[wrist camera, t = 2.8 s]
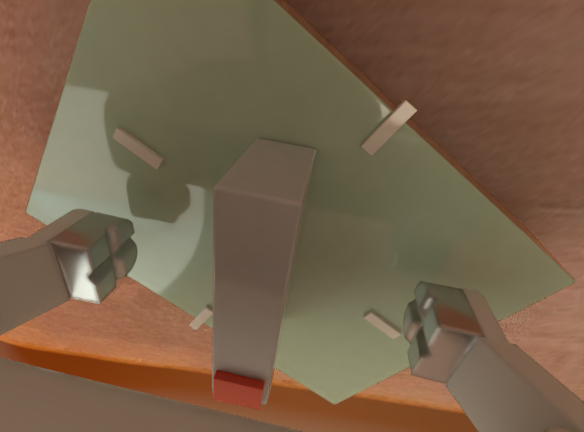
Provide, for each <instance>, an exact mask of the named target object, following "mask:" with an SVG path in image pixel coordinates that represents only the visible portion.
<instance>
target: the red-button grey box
mask: <svg viewBox="0 0 584 432" xmlns="http://www.w3.org/2000/svg"><path fill="white" fill-rule="evenodd" d="M316 154H317V152H316V150H315V149H313V148H308V147H303V146H297V145H292V144H287V143H281V142H276V141H270V140H265V139H260V138H257V139H255V140H254V141H253V142H252V144H251V145H250V146H249V147H248V148H247V149H246V150H245V152H244V153H243V154H242V155H241V156H240V157H239V158H238V159H237V161H236V162H235V163H234V164H233V165H232V166H231V167H230V169H229V170H228V171H227V172H226V173H225V174H224V175H223V176H222V178H221V179H220V180H219V181H218V182H217V183H216V184H215V186H214V188H213V314H212V391H213V399H215V400H220V401H224V402H228V403H232V404H236V405H240V406H244V407H248V408H252V409H257V410H260V407H261V404H266V403H267V402H268V397H269V392H270V388H271V383H272V379H273V374H274V370H275V365H276V361H277V356H278V351H279V347H280V342H281V338H282V333H283V329H284V324H285V319H286V314H287V308H288V303H289V298H290V292H291V287H292V282H293V276H294V271H295V266H296V260H297V255H298V250H299V244H300V239H301V234H302V228H303V223H304V218H305V212H306V207H307V202H308V196H309V191H310V186H311V180H312V175H313V170H314V164H315V159H316Z"/></svg>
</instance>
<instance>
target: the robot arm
mask: <svg viewBox="0 0 584 432" xmlns="http://www.w3.org/2000/svg"><path fill="white" fill-rule="evenodd" d="M134 233H135V231H134V226H133V222H131V221H130V220H129V219H125V218H120V217H116V216H112V215H107V214H103V213H99V212H94V211H89V210H85V209H73V210H71V211H70V212H68V213H67V214H65V215H63V216H62V217H60V218H59V219H57V220H55V221H54V222H52V223H51V224H49V225H47V226H46V227H44V228H42V229H41V230H39V231H38V232H36V233H34V234H33V235H31V236H30V237H28V238H23V237H20V238H16V239H12V240H8V241H4V242H0V335H2V334H4V333H6V332H7V331H9V330H11V329H13V328H15V327H17V326H19V325H21V324H23V323H25V322H27V321H29V320H31V319H33V318H35V317H37V316H39V315H41V314H43V313H45V312H47V311H49V310H50V309H52V308H54V307H56V306H58V305H60V304H62V303H64V302H66V301H68V300H69V298H72V299H77V300H82V301H87V302H92V303H97V304H101V303H102V301H103V300H104V299H105V298H106V297H107V296H108V295H109V294H110V293H111V292H112V291H113V290H114V289H115V288H116V280H118V279H120V278H122V277H125V276H127V275H128V273H129V272H130V271H131V270H132V269H133V267H134V264H135V262H136V260H137V253H138V251H137V245H136V244H135V242H134V241H133V240H132V239H131V237H132V235H133V234H134ZM414 294H415V298H416V299H415V300H413V301H411V302H409V303H408V305H407V307H406V310H405V312H404V318H403V332H404V337H405V339H406V340H407V341H408V342H409V343H410V344H411V345H410V347H409V349H408V351H407V354H408V359H409V364H410V369H411V375H413V376H417V377H421V378H425V379H429V380H433V381H437V382H441V383H444V384H446V385H445V386H446V387H447V388H448V390H449V391H450V393H451V394H452V395H453V397H454V398H455V400H456V401H457V402H458V404H459V405H460V407H461V408H462V409H463V411H464V412H465V414H466V415H467V416H468V418H469V419H470V421H471V422H472V423H473V424H474V426H475V427H476V429H477V430H478V432H584V402H583V401H582V400H581V399H580V398H579V397H577V396H576V395H575V394H574V393H573V392H571V391H570V390H569V389H568V388H567V387H565V386H564V385H563V384H562V383H561V382H560V381H558V380H557V379H556V378H555V377H554V376H552V375H551V374H550V373H549V372H548V371H546V370H545V369H544V368H543V367H542V366H541V365H539V364H538V363H537V362H536V361H535V360H533V359H532V358H531V357H530V356H529V355H527V354H526V353H525V352H524V351H523V350H522V349H520V348H519V347H518V346H517V345H516V344H511V343H509V342H508V340H507V338H506V337H505V335H504V333H503V331H502V329H501V327H500V325H499V323H498V321H497V320H496V318H495V316H494V314H493V312H492V310H491V308H490V306H489V304H488V303H487V301H486V299H485V297H484V295H483V294H482V293H480V292H479V291H474V290H469V289H463V288H455V287H450V286H445V285H440V284H435V283H430V282H425V281H420V282H419V283H418V284H417V286H416V288H415V290H414ZM0 432H303V431H299V430H294V429H290V428H286V427H282V426H278V425H274V424H270V423H266V422H262V421H258V420H254V419H249V418H245V417H241V416H237V415H233V414H228V413H225V412H221V411H217V410H212V409H208V408H204V407H200V406H196V405H192V404H188V403H183V402H180V401H176V400H172V399H167V398H163V397H159V396H155V395H151V394H147V393H143V392H139V391H134V390H130V389H126V388H122V387H118V386H114V385H110V384H106V383H102V382H97V381H94V380H89V379H85V378H81V377H77V376H73V375H69V374H65V373H61V372H57V371H53V370H49V369H45V368H41V367H37V366H32V365H28V364H24V363H20V362H16V361H12V360H8V359H4V358H0Z"/></svg>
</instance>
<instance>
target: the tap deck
mask: <svg viewBox="0 0 584 432" xmlns="http://www.w3.org/2000/svg"><path fill="white" fill-rule="evenodd" d="M416 111H417V110H416V108H414V107H413V106H412V105H411V104H410V103H409V102H408V101H407V100H406V99H404V100H403V102H402V103H401V104H400V105H399V106H397V105H396V104H395V103H394V102H393V101H392V100H391V99H390V98H388V97H387V96H386V95H385V94H384V93H383V92H382V91H381V90H380V89H379V88H378V87H377V86H376V85H375V84H374V83H372V82H371V81H370V80H369V79H368V78H367V77H366V76H365V75H364V74H363V73H362V72H361V71H360V70H359V69H358V68H356V67H355V66H354V65H353V64H352V63H351V62H350V61H349V60H348V59H347V58H346V57H345V56H344V55H343V54H342V53H340V52H339V51H338V50H337V49H336V48H335V47H334V46H333V45H332V44H331V43H330V42H329V41H328V40H327V39H326V38H324V37H323V36H322V35H321V34H320V33H319V32H318V31H317V30H316V29H315V28H314V27H313V26H312V25H311V24H310V23H308V22H307V21H306V20H305V19H304V18H303V17H302V16H301V15H300V14H299V13H298V12H297V11H296V10H295V9H294V8H292V7H291V6H290V5H289V4H288V3H287V2H286V1H285V0H90V3H89V6H88V10H87V13H86V16H85V19H84V23H83V26H82V29H81V32H80V36H79V39H78V42H77V45H76V49H75V52H74V55H73V58H72V62H71V65H70V68H69V71H68V74H67V78H66V81H65V84H64V87H63V91H62V94H61V97H60V100H59V104H58V107H57V110H56V113H55V117H54V120H53V123H52V126H51V130H50V133H49V136H48V139H47V143H46V146H45V149H44V152H43V156H42V159H41V162H40V165H39V169H38V172H37V175H36V178H35V181H34V185H33V188H32V191H31V194H30V198H29V201H28V204H27V207H26V211H25V212H26V213H27V214H29V215H31V216H32V217H34V218H35V219H37V220H39V221H40V222H42V223H43V224H45V225H49V224H51V223H52V222H54V221H55V220H57V219H59V218H60V217H62V216H63V215H65V214H67V213H68V212H70V211H71V210H73V209H85V210H89V211H94V212H99V213H103V214H107V215H112V216H116V217H120V218H125V219H129V220H130V221H131V222H133V226H134V231H135V233H134V234H133V235H132V237H131V239H132V240H133V241H134V242H135V244H136V245H137V251H138V253H137V260H136V262H135V264H134V267H133V269H132V270H131V271H130V272H129V273H128V275H127V276H128V277H130V278H132V279H133V280H135V281H137V282H138V283H140V284H141V285H143V286H145V287H146V288H148V289H149V290H151V291H153V292H154V293H156V294H157V295H159V296H161V297H162V298H164V299H165V300H167V301H169V302H170V303H172V304H173V305H175V306H177V307H178V308H180V309H181V310H183V311H185V312H186V313H188V314H190V315H191V316H193V317H194V319H193V320H192V321H191V322H190V323H189V326H190V327H191V328H193V329H195V330H197V329H198V328H199V327H200V326H201V325H202V324H203V323H204V324H206V325H207V326H209V327H210V328H212V314H213V188H214V186H215V184H216V183H217V182H218V181H219V180H220V179H221V178H222V176H223V175H224V174H225V173H226V172H227V171H228V170H229V169H230V167H231V166H232V165H233V164H234V163H235V162H236V161H237V159H238V158H239V157H240V156H241V155H242V154H243V153H244V152H245V150H246V149H247V148H248V147H249V146H250V145H251V144H252V142H253V141H254V140H255V139H257V138H260V139H265V140H270V141H276V142H281V143H287V144H292V145H297V146H303V147H308V148H313V149H315V150H316V152H317V154H316V159H315V164H314V170H313V175H312V180H311V186H310V191H309V196H308V202H307V207H306V212H305V218H304V223H303V228H302V234H301V239H300V244H299V250H298V255H297V260H296V266H295V271H294V276H293V282H292V287H291V292H290V298H289V303H288V308H287V314H286V319H285V324H284V329H283V333H282V338H281V342H280V347H279V351H278V356H277V361H276V365H275V368H276V369H278V370H279V371H281V372H283V373H284V374H286V375H288V376H289V377H291V378H292V379H294V380H296V381H297V382H299V383H300V384H302V385H304V386H305V387H307V388H308V389H310V390H312V391H313V392H315V393H316V394H318V395H320V396H321V397H323V398H324V399H326V400H328V401H329V402H331V403H332V404H337V403H339V402H341V401H343V400H345V399H347V398H349V397H351V396H353V395H355V394H357V393H359V392H361V391H363V390H365V389H367V388H369V387H371V386H373V385H375V384H377V383H379V382H380V381H382V380H384V379H386V378H388V377H390V376H392V375H394V374H396V373H398V372H400V371H402V370H404V369H406V368H408V367H410V364H409V359H408V354H407V351H408V349H409V347H410V345H411V344H410V343H409V342H408V341H407V340H406V339H405V337H404V332H403V318H404V312H405V310H406V307H407V305H408V303H409V302H411V301H413V300H415V299H416V298H415V294H414V290H415V288H416V286H417V284H418V283H419V282H420V281H425V282H430V283H435V284H440V285H445V286H450V287H455V288H463V289H469V290H474V291H479V292H480V293H482V294H483V295H484V297H485V299H486V301H487V303H488V304H489V306H490V308H491V310H492V312H493V314H494V316H495V318H496V320H497V321H498V322H499V321H501V320H502V319H504V318H506V317H508V316H510V315H512V314H514V313H516V312H518V311H520V310H522V309H524V308H526V307H528V306H530V305H532V304H534V303H536V302H538V301H540V300H542V299H544V298H546V297H548V296H550V295H552V294H554V293H556V292H558V291H560V290H562V289H563V288H565V287H567V286H569V285H571V284H573V283H575V282H576V281H575V279H574V278H573V277H572V276H571V275H570V274H569V273H568V272H567V270H566V269H565V268H564V267H563V266H562V265H561V264H560V263H559V262H558V261H557V260H556V259H555V257H554V256H553V255H552V254H551V253H550V252H549V251H548V250H547V249H546V248H545V247H544V246H543V244H542V243H541V242H540V241H539V240H538V239H537V238H536V237H535V236H534V235H533V234H532V233H531V231H530V230H529V229H528V228H527V227H526V226H525V225H524V224H523V223H522V222H521V221H520V220H519V219H518V218H516V217H515V216H514V215H513V214H512V213H511V212H510V211H509V210H508V209H507V208H506V207H505V206H504V205H503V204H502V203H500V202H499V201H498V200H497V199H496V198H495V197H494V196H493V195H492V194H491V193H490V192H489V191H488V190H487V189H486V188H484V187H483V186H482V185H481V184H480V183H479V182H478V181H477V180H476V179H475V178H474V177H473V176H472V175H471V174H470V173H468V172H467V171H466V170H465V169H464V168H463V167H462V166H461V165H460V164H459V163H458V162H457V161H456V160H455V159H454V158H452V157H451V156H450V155H449V154H448V153H447V152H446V151H445V150H444V149H443V148H442V147H441V146H440V145H439V144H438V143H436V142H435V141H434V140H433V139H432V138H431V137H430V136H429V135H428V134H427V133H426V132H425V131H424V130H423V129H422V128H420V127H419V126H418V125H417V124H416V123H415V122H414V121H413V120H412V119H411V118H410V117H411V116H412V115H413V114H414V113H415V112H416Z"/></svg>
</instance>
